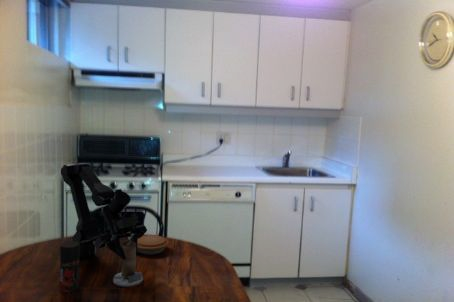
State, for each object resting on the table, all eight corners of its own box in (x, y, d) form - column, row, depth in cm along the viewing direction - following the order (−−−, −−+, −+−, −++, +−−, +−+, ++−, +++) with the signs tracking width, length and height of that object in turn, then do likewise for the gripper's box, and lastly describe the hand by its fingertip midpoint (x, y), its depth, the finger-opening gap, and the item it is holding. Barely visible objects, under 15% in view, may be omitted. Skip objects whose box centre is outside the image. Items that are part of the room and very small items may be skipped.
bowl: (107, 279, 135) (108, 270, 135) (131, 271, 142) (132, 262, 142) (124, 289, 128) (124, 279, 128) (148, 280, 136) (148, 271, 136)
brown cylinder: (119, 276, 133) (120, 244, 132) (124, 270, 138) (125, 239, 137) (132, 277, 133) (133, 245, 131) (137, 272, 137) (138, 240, 136)
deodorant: (82, 285, 130) (83, 242, 128) (70, 293, 124) (70, 248, 123) (68, 282, 132) (69, 240, 130) (55, 289, 126) (56, 245, 125)
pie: (144, 241, 175) (144, 231, 175) (174, 247, 170) (175, 236, 170) (124, 252, 161) (125, 241, 160) (156, 259, 156) (157, 247, 155)
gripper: (99, 212, 128) (117, 253, 122) (145, 203, 142) (163, 240, 136) (87, 229, 134) (103, 269, 128) (132, 219, 148) (148, 255, 142)
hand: (131, 257), depth 134 cm, fingers closed on brown cylinder, 5 cm apart
